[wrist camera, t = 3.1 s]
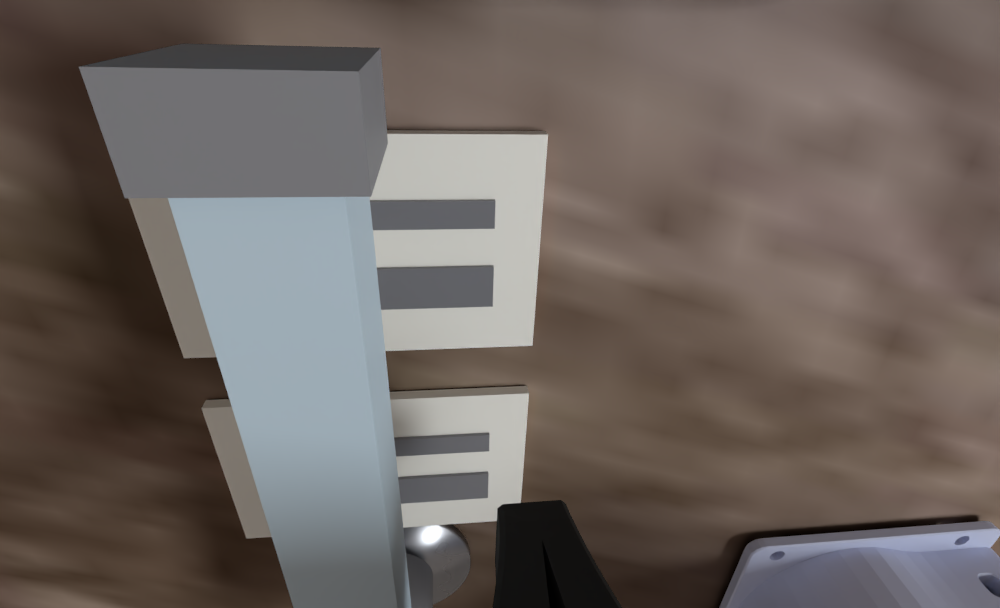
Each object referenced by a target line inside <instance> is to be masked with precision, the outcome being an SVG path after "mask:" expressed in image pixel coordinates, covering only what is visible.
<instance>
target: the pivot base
mask: <svg viewBox="0 0 1000 608" xmlns="http://www.w3.org/2000/svg"><path fill="white" fill-rule="evenodd" d="M403 529H404V539H405V549H406V554H410V555H414V556H416V557H419V558H420V559H422V560H424V561H425V562H426V563H427V564H428V565H429V566H430V567H431V569H432V572H433V604H435V603H437V602H439V601H442V600H443V599H445V598H447V597H448V596H450V595H451V594H452V593H454V592H455V591H456V590H457V589H458V588H459V587H460V586H461V585H462V584H463V582H464V581H465V579H466V578H467V576H468V573H469V570H470V550H469V546H468V543H467V541H466V539H465V537H464V536H463V534H462V533H461V532H460V531H459V530H458V529H457V528H456V527H454V526H453V525H452V524H447V525H433V526H419V527H405V528H403Z"/></svg>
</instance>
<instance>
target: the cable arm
mask: <svg viewBox="0 0 1000 608" xmlns="http://www.w3.org/2000/svg"><path fill="white" fill-rule="evenodd" d="M79 69H80V72H81V75H82V78H83V80H84V83H85V86H86V89H87V92H88V95H89V98H90V100H91V103H92V106H93V109H94V112H95V115H96V117H97V120H98V123H99V126H100V129H101V132H102V135H103V137H104V140H105V143H106V146H107V149H108V152H109V155H110V157H111V160H112V163H113V166H114V169H115V172H116V175H117V177H118V180H119V183H120V186H121V189H122V192H123V194H124V197H125V198H168V201H169V204H170V207H171V210H172V214H173V217H174V220H175V223H176V227H177V230H178V233H179V236H180V240H181V243H182V246H183V249H184V253H185V256H186V259H187V262H188V266H189V269H190V272H191V276H192V279H193V282H194V285H195V289H196V292H197V295H198V298H199V302H200V305H201V308H202V311H203V315H204V318H205V321H206V324H207V328H208V331H209V334H210V337H211V341H212V344H213V347H214V350H215V354H216V357H217V360H218V363H219V367H220V370H221V373H222V376H223V380H224V383H225V386H226V390H227V393H228V396H229V399H230V403H231V406H232V409H233V412H234V416H235V419H236V422H237V425H238V429H239V432H240V435H241V438H242V442H243V445H244V448H245V451H246V455H247V458H248V461H249V464H250V468H251V471H252V474H253V477H254V481H255V484H256V487H257V490H258V494H259V497H260V500H261V503H262V507H263V510H264V513H265V517H266V520H267V523H268V526H269V530H270V533H271V536H272V539H273V543H274V546H275V549H276V552H277V556H278V559H279V562H280V565H281V569H282V572H283V575H284V578H285V582H286V585H287V588H288V591H289V595H290V598H291V601H292V604H293V608H433V572H432V569H431V567H430V566H429V565H428V564H427V563H426V562H425V561H424V560H422V559H420V558H419V557H416V556H414V555H410V554H406V549H405V539H404V529H403V520H402V510H401V500H400V490H399V481H398V471H397V461H396V451H395V441H394V432H393V422H392V412H391V402H390V393H389V383H388V373H387V363H386V353H385V344H384V334H383V324H382V314H381V305H380V295H379V285H378V275H377V266H376V256H375V246H374V236H373V226H372V217H371V207H370V197H371V196H372V193H373V189H374V186H375V183H376V180H377V177H378V173H379V170H380V167H381V164H382V161H383V157H384V154H385V151H386V148H387V145H388V137H387V125H386V112H385V99H384V87H383V74H382V61H381V49H380V48H358V47H312V46H265V45H219V44H179V45H174V46H170V47H165V48H161V49H156V50H152V51H147V52H143V53H138V54H134V55H129V56H125V57H120V58H116V59H111V60H107V61H102V62H98V63H93V64H89V65H84V66H80V67H79Z"/></svg>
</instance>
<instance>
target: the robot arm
mask: <svg viewBox="0 0 1000 608" xmlns="http://www.w3.org/2000/svg"><path fill="white" fill-rule="evenodd" d="M999 536H1000V530H999V529H998V528H997V527H996V526H995V525H994V524H993V523H991V522H990V521H976V522H963V523H950V524H937V525H924V526H911V527H899V528H886V529H873V530H860V531H847V532H835V533H822V534H809V535H796V536H783V537H770V538H760V539H755V540H753V541H751V542H750V543H748V544H747V546H746V547H745V549H744V551H743V554H742V556H741V558H740V561H739V563H738V565H737V567H736V570H735V572H734V574H733V577H732V579H731V581H730V584H729V586H728V588H727V591H726V593H725V595H724V598H723V600H722V602H721V605H720V607H719V608H1000V557H999V556H998V555H997V554H996V553H995V552H994V551H993V550H992V549H991V548H990V547H991V546H992V545H993V544H994V543H995V541H996V540H997V539H998V538H999ZM495 567H496V587H495V595H494V602H493V608H622V607H621V605H620V603H619V602H618V600H617V598H616V597H615V595H614V594H613V592H612V590H611V589H610V587H609V585H608V584H607V582H606V580H605V579H604V577H603V575H602V574H601V572H600V570H599V568H598V567H597V565H596V563H595V561H594V559H593V558H592V556H591V554H590V552H589V550H588V549H587V547H586V545H585V543H584V541H583V539H582V537H581V535H580V533H579V531H578V529H577V527H576V525H575V523H574V521H573V519H572V517H571V515H570V513H569V510H568V508H567V506H566V504H565V503H564V502H563V501H561V500H557V501H542V502H527V503H512V504H503V505H501V506H500V507H498V508H497V530H496V553H495Z"/></svg>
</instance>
